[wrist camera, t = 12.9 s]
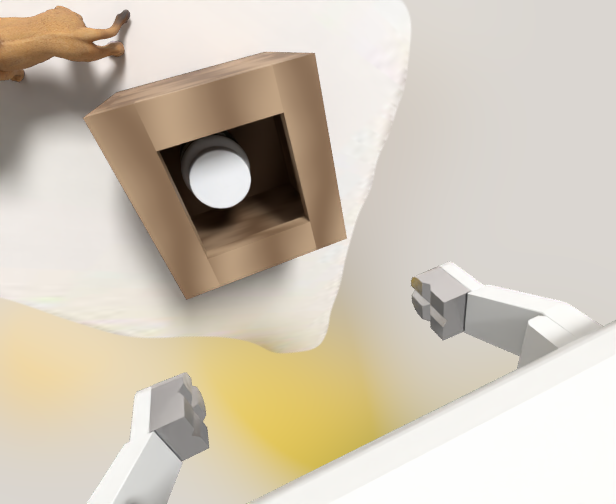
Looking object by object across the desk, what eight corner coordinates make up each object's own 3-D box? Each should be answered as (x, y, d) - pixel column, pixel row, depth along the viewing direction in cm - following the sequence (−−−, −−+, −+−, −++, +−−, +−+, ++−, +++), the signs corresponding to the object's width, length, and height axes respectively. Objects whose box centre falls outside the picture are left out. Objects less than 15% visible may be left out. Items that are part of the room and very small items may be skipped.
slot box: (182, 224, 38) (186, 299, 27) (116, 92, 30) (82, 118, 19) (297, 185, 40) (346, 238, 29) (264, 51, 32) (314, 53, 21)
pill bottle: (243, 172, 36) (263, 206, 28) (189, 184, 35) (194, 223, 27) (230, 116, 33) (249, 136, 25) (171, 127, 32) (170, 152, 24)
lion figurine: (-16, 117, 28) (-82, 140, 21) (-79, 46, 25) (-183, 45, 18) (148, 45, 29) (140, 44, 22) (107, -30, 26) (81, -60, 19)
